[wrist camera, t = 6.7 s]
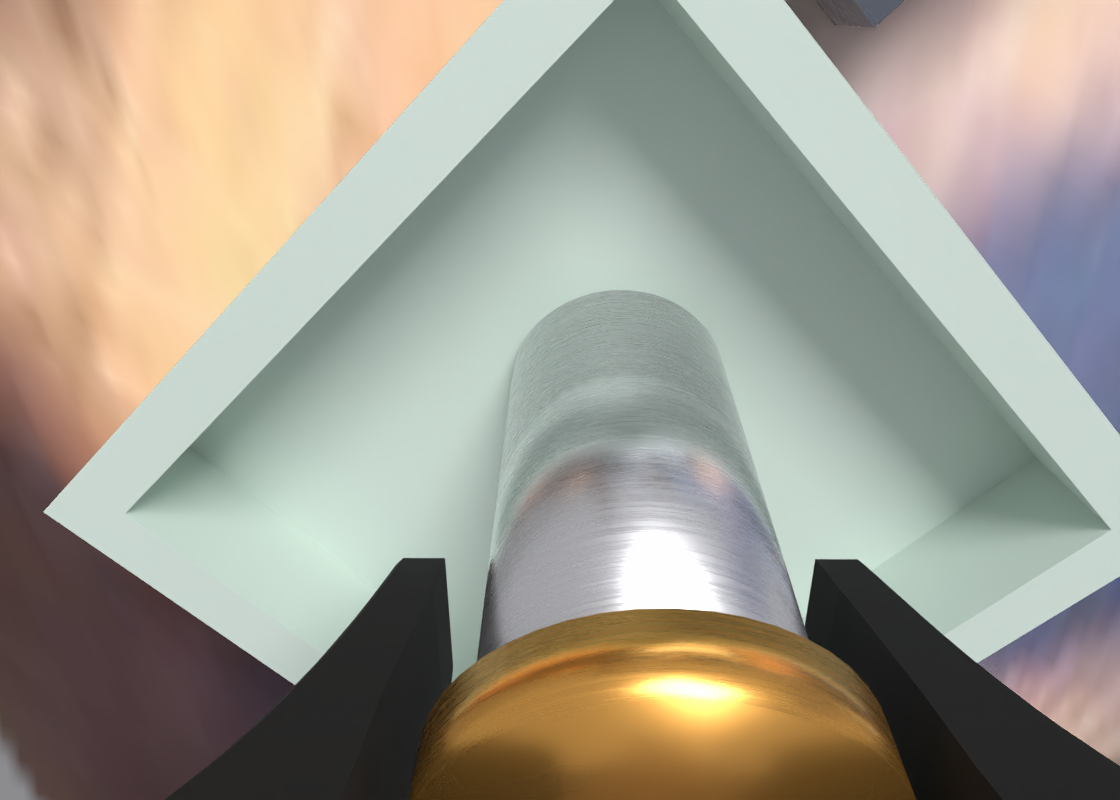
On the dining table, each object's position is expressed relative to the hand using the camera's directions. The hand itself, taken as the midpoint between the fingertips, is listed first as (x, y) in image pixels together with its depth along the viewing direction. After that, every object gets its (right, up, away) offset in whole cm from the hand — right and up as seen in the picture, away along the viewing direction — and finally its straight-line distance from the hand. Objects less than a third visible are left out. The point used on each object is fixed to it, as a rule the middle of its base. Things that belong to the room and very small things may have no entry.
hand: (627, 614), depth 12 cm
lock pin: (0, +3, +4) cm, 5 cm away
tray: (0, +3, +5) cm, 6 cm away
